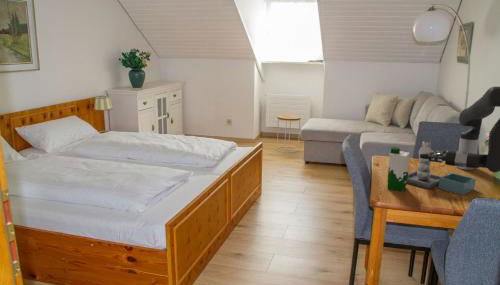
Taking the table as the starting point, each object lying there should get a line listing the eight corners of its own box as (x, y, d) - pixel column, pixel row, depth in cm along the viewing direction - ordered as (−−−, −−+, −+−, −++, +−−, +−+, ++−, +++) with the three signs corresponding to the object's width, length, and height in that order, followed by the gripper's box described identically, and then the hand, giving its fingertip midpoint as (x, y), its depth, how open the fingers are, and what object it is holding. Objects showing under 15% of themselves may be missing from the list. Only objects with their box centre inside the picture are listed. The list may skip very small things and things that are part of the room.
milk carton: (389, 184, 217) (392, 145, 212) (408, 187, 213) (411, 148, 208) (385, 189, 210) (388, 149, 205) (404, 192, 205) (407, 152, 200)
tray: (416, 174, 232) (416, 170, 231) (445, 182, 220) (446, 177, 219) (400, 180, 222) (400, 176, 221) (429, 189, 210) (429, 184, 209)
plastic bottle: (428, 182, 216) (432, 144, 211) (414, 180, 220) (418, 142, 215) (431, 179, 221) (435, 141, 216) (418, 176, 225) (421, 139, 220)
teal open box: (450, 182, 219) (451, 172, 217) (474, 189, 210) (475, 178, 208) (438, 188, 211) (439, 177, 210) (462, 195, 202) (464, 183, 201)
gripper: (459, 147, 215) (424, 143, 223) (455, 154, 203) (419, 150, 211) (457, 162, 217) (423, 157, 225) (454, 169, 205) (418, 164, 213)
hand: (421, 154), depth 218 cm, fingers open, 8 cm apart
